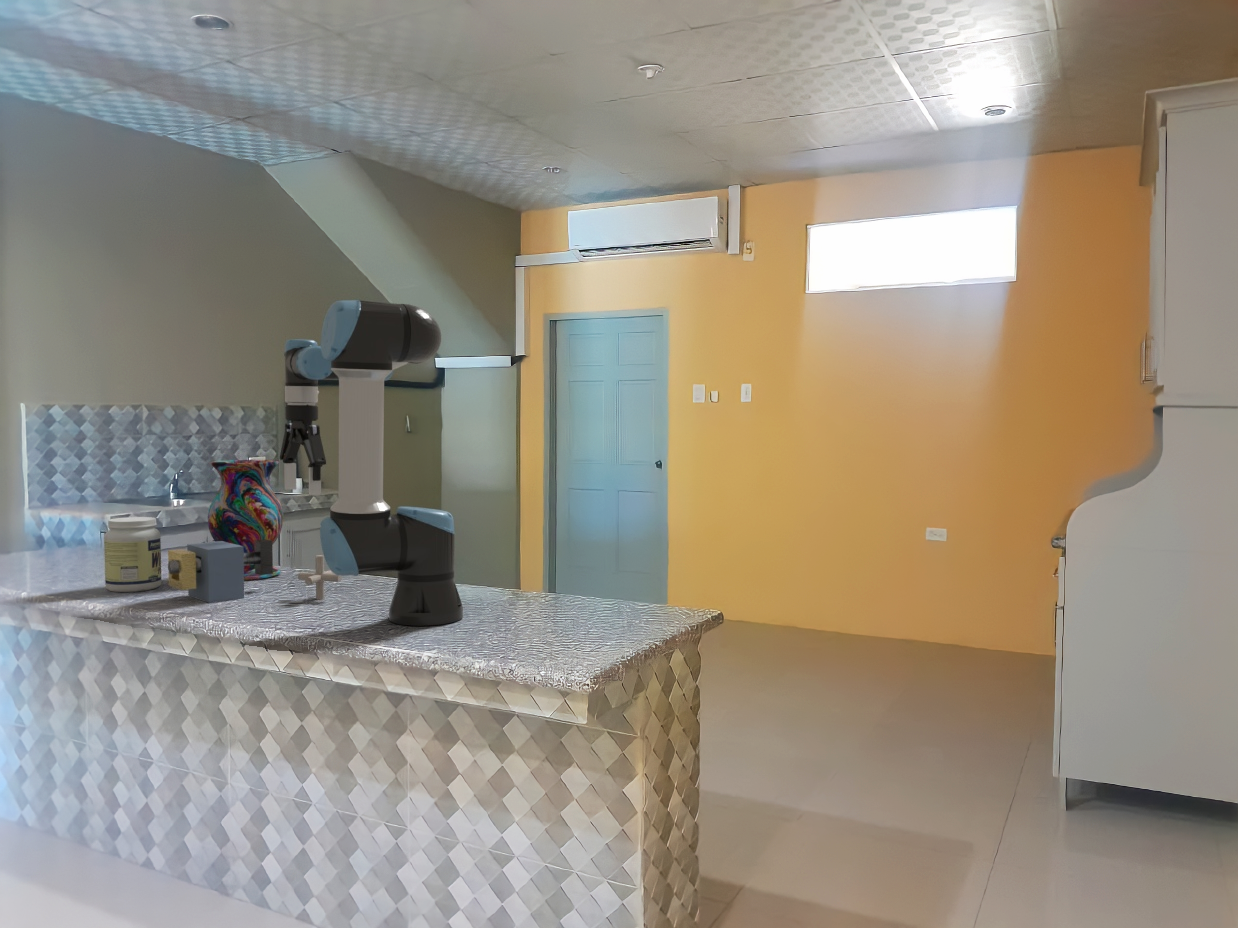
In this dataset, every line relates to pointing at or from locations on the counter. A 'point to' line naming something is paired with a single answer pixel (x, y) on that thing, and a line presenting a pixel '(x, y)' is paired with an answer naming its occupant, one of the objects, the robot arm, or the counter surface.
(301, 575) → the pipe connector
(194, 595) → the pillow block
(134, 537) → the supplement tub
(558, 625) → the counter surface
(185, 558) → the block
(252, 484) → the vase
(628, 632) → the counter surface
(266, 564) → the shaft
